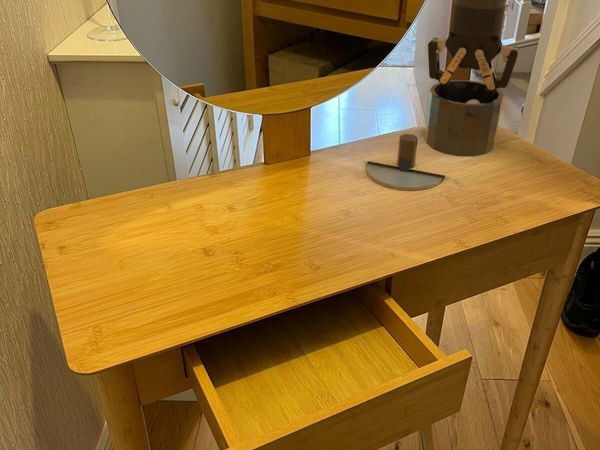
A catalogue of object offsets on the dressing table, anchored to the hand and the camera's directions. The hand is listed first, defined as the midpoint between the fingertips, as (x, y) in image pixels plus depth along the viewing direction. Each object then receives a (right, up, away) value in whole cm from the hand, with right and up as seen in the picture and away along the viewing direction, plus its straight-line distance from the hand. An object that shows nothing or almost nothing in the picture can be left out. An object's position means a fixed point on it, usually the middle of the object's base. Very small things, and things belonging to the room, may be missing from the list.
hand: (464, 106), depth 102 cm
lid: (-10, -11, -3) cm, 15 cm away
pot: (0, -7, +4) cm, 8 cm away
